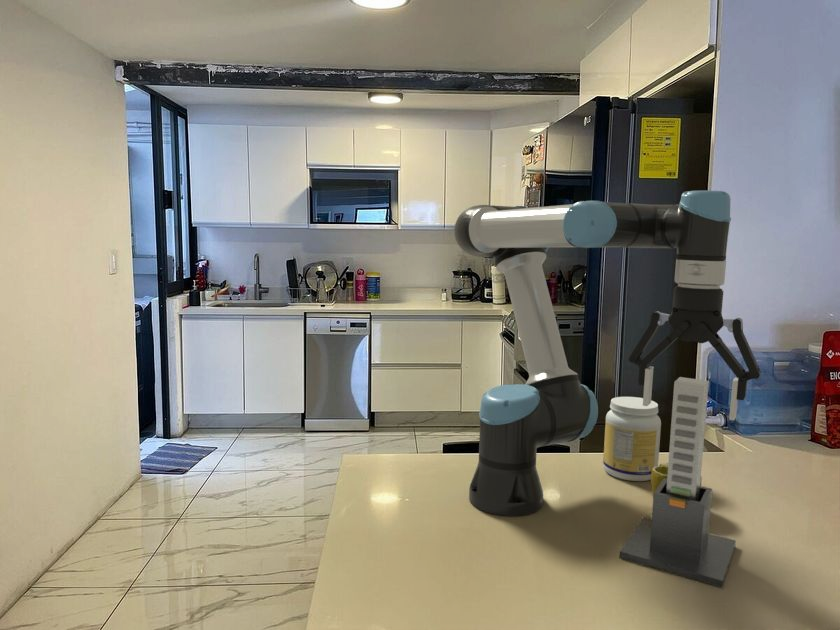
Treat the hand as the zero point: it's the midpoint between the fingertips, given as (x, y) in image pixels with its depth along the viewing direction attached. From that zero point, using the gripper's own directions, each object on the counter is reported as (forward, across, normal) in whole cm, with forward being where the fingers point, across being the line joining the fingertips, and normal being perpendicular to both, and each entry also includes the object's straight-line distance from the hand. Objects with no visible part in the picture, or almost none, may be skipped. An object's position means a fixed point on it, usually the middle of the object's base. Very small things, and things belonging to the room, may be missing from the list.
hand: (688, 411), depth 106 cm
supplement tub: (+26, -17, +33) cm, 45 cm away
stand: (+25, 0, 0) cm, 25 cm away
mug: (+26, -5, +20) cm, 33 cm away
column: (+17, 0, 0) cm, 17 cm away
